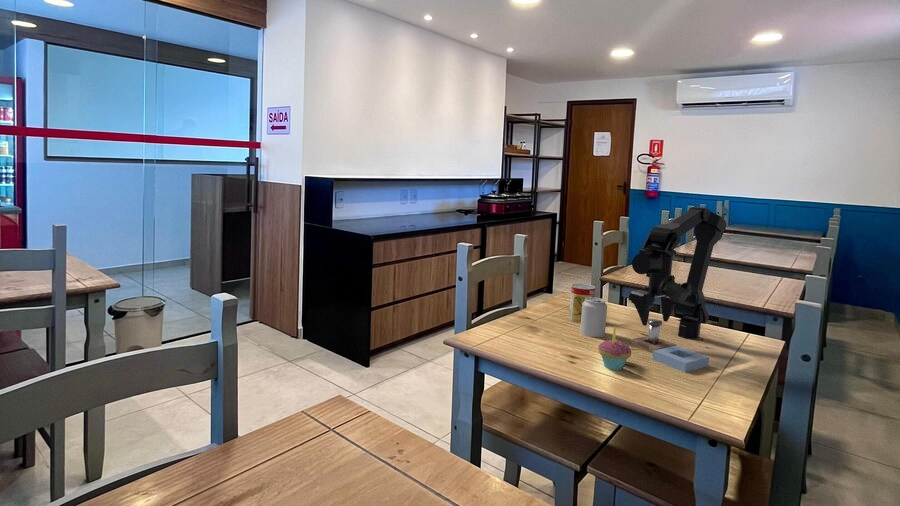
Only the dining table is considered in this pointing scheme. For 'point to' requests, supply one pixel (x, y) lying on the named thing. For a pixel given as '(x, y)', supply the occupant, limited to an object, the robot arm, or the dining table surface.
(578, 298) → the canned food
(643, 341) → the mount
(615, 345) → the cupcake
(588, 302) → the can
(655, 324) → the lock pin
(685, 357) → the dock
